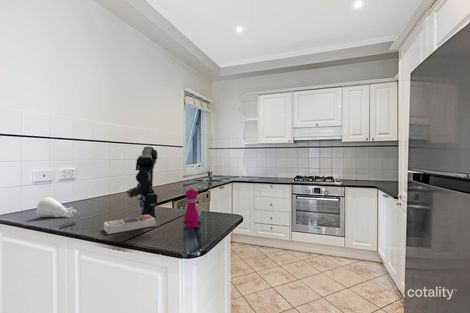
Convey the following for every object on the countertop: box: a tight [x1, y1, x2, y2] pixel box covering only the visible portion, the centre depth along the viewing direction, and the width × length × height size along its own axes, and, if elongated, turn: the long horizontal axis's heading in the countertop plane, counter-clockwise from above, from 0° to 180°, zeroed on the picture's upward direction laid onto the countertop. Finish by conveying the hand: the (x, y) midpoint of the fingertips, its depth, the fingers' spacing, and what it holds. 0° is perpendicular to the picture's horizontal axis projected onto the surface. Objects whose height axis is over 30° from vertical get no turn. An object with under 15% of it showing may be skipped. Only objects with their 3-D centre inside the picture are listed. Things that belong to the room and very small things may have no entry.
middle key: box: [123, 216, 137, 223], centre depth 116 cm, size 5×5×2 cm
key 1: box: [108, 220, 121, 226], centre depth 112 cm, size 5×5×2 cm
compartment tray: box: [103, 216, 157, 235], centre depth 116 cm, size 21×9×3 cm, turn 129°
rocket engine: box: [35, 196, 78, 219], centre depth 138 cm, size 12×12×18 cm
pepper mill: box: [183, 185, 200, 229], centre depth 118 cm, size 7×7×20 cm
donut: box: [183, 202, 202, 217], centre depth 130 cm, size 10×4×10 cm, turn 68°
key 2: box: [138, 214, 151, 221], centre depth 121 cm, size 5×5×2 cm
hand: (145, 212), depth 121 cm, fingers closed
